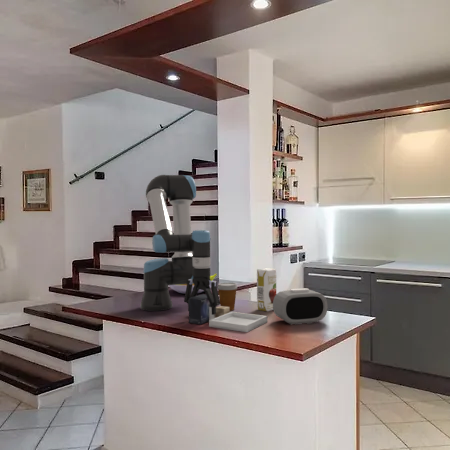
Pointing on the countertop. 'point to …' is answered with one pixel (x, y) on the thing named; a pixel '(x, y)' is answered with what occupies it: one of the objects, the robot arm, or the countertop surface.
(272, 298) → the juice carton
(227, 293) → the disposable coffee cup
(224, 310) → the beech cube
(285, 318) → the alarm clock
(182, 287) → the fruit bowl
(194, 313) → the small box
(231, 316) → the tray
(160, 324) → the countertop surface
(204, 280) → the robot arm
